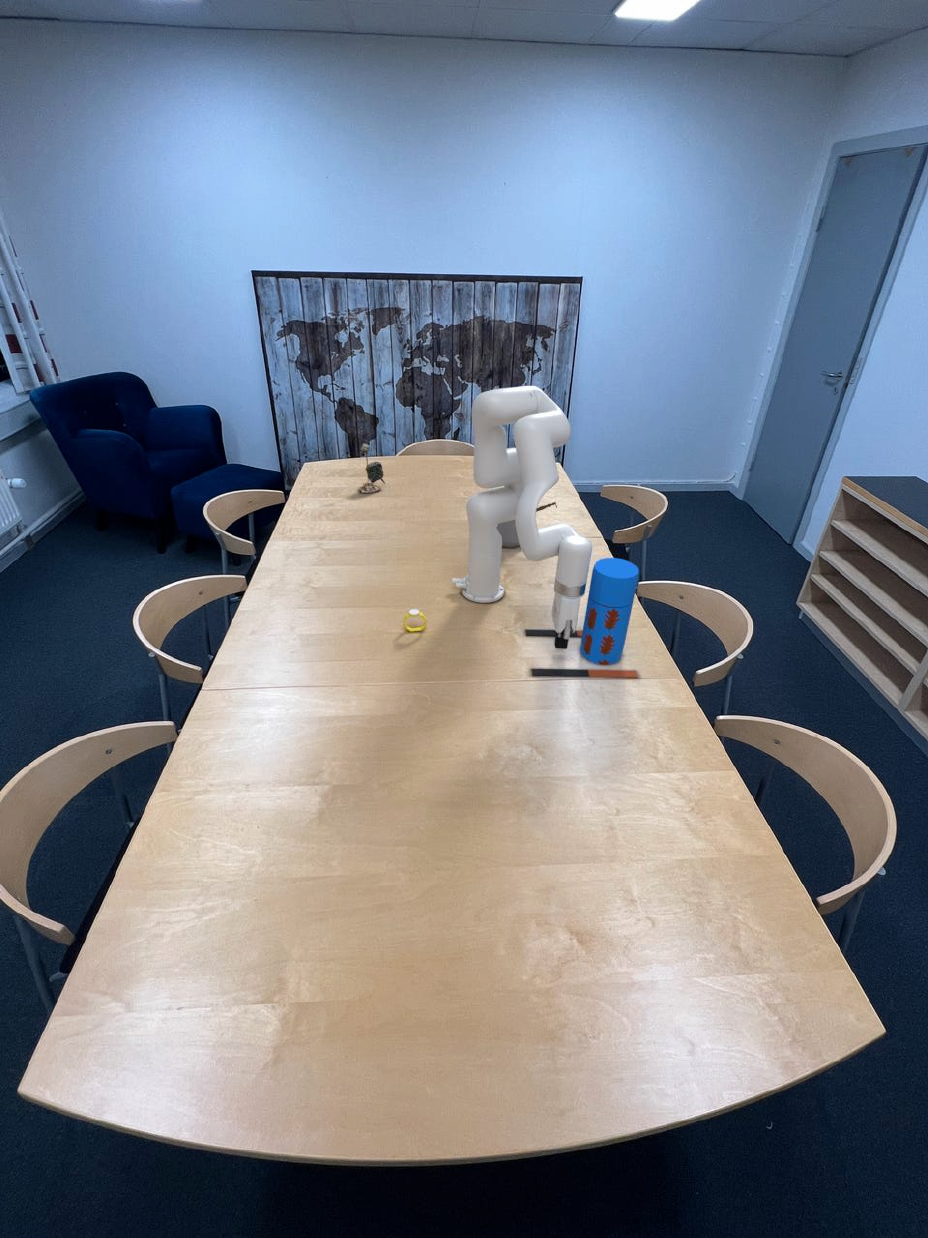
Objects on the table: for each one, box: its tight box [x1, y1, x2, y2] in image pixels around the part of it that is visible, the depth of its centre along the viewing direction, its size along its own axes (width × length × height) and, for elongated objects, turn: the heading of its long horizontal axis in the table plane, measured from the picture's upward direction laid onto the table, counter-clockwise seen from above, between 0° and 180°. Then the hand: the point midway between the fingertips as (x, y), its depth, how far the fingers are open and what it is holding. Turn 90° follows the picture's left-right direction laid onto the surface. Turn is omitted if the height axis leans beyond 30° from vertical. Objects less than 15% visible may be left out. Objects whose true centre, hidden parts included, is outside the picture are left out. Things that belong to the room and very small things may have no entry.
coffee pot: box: [496, 501, 558, 549], centre depth 209 cm, size 21×12×15 cm, turn 95°
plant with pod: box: [358, 443, 386, 494], centre depth 246 cm, size 8×11×20 cm
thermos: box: [580, 557, 640, 666], centre depth 153 cm, size 11×11×25 cm
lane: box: [525, 628, 639, 679], centre depth 159 cm, size 26×20×1 cm
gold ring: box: [403, 608, 427, 632], centre depth 164 cm, size 6×3×6 cm, turn 96°
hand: (560, 646), depth 158 cm, fingers closed
